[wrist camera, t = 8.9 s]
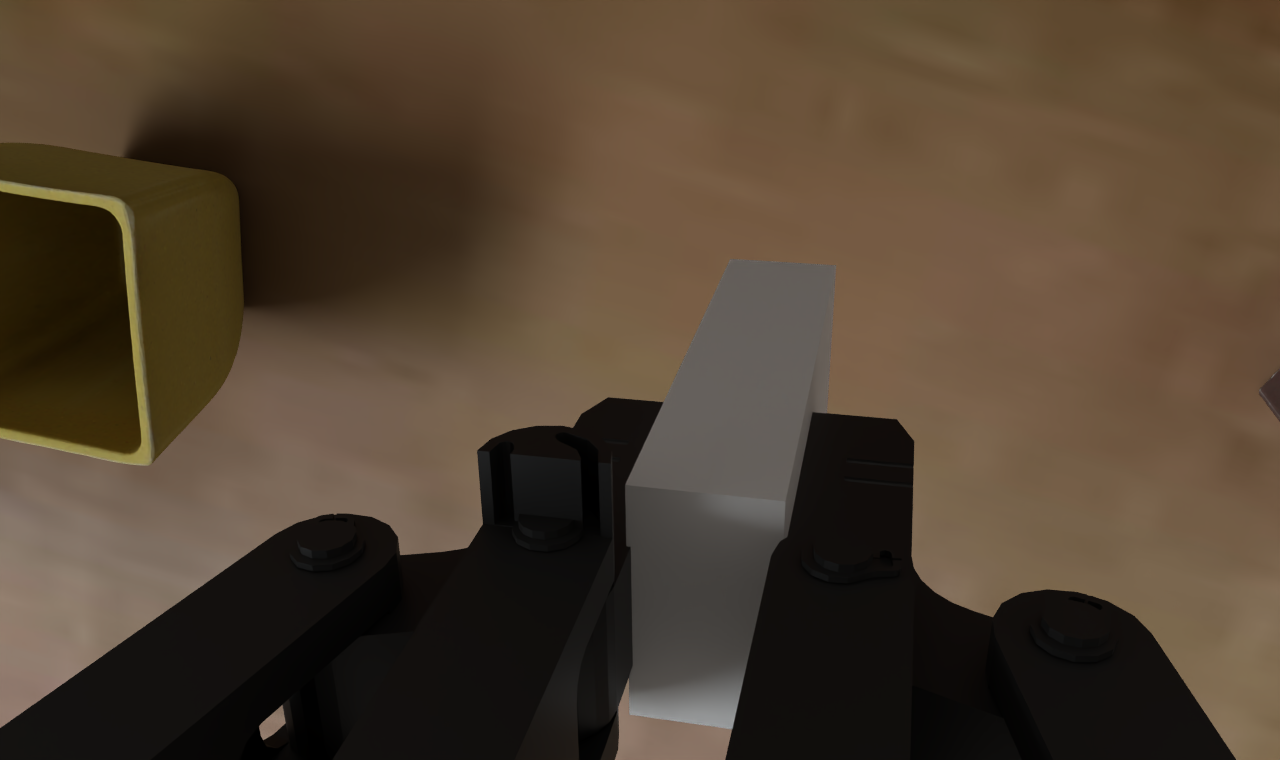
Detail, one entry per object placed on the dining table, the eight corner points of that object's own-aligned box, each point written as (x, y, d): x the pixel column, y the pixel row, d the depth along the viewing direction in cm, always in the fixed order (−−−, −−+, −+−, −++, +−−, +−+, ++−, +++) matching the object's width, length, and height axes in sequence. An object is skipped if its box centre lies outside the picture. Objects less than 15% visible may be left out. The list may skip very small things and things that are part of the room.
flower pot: (84, 327, 46) (-94, 422, 38) (60, 104, 42) (-141, 156, 34) (291, 365, 45) (154, 471, 37) (284, 137, 41) (130, 200, 33)
